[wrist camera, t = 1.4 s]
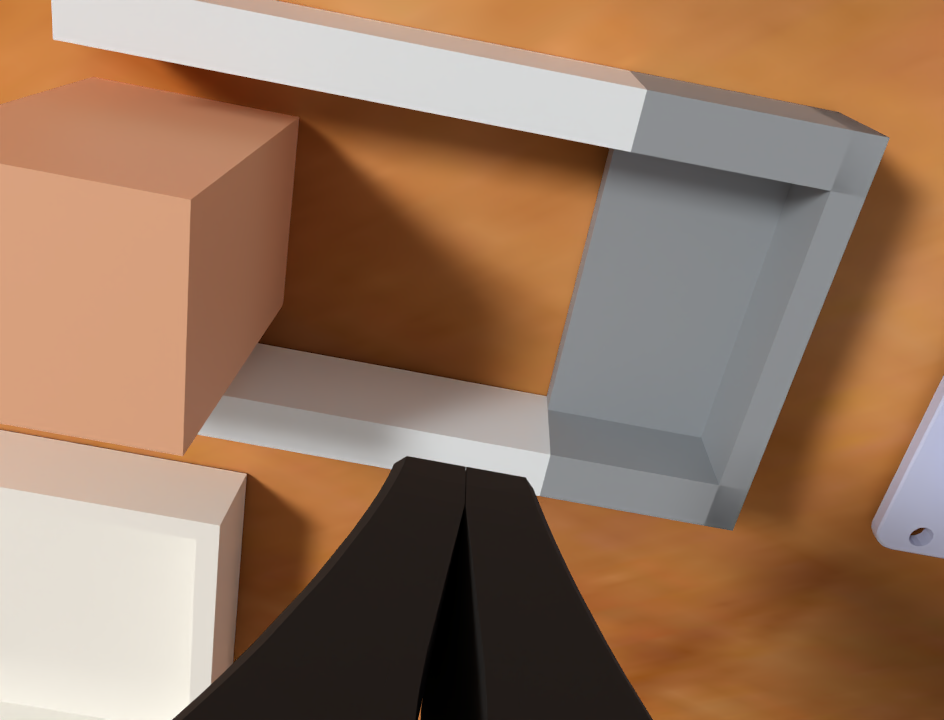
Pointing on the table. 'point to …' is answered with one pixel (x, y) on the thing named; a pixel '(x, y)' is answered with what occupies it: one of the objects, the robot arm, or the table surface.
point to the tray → (113, 580)
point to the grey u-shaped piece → (699, 297)
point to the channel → (398, 84)
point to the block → (136, 257)
